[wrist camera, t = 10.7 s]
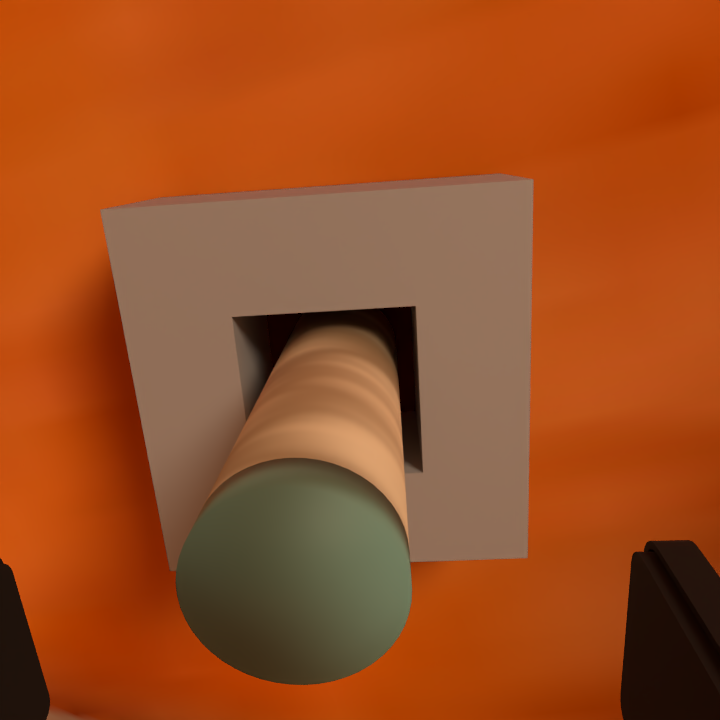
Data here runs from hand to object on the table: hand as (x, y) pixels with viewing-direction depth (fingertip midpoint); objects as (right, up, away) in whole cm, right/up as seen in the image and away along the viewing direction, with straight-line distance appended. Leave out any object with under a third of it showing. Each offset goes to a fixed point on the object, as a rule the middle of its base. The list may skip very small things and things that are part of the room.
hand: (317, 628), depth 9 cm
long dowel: (0, +4, +14) cm, 15 cm away
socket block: (0, +4, +14) cm, 15 cm away
